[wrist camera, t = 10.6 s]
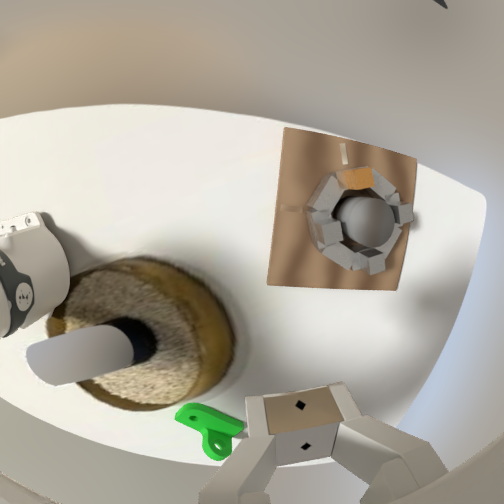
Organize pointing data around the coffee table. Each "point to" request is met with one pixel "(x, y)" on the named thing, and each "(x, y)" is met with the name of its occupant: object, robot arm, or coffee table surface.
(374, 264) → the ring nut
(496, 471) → the robot arm
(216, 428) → the mechanical part
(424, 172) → the coffee table surface
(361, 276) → the base plate
